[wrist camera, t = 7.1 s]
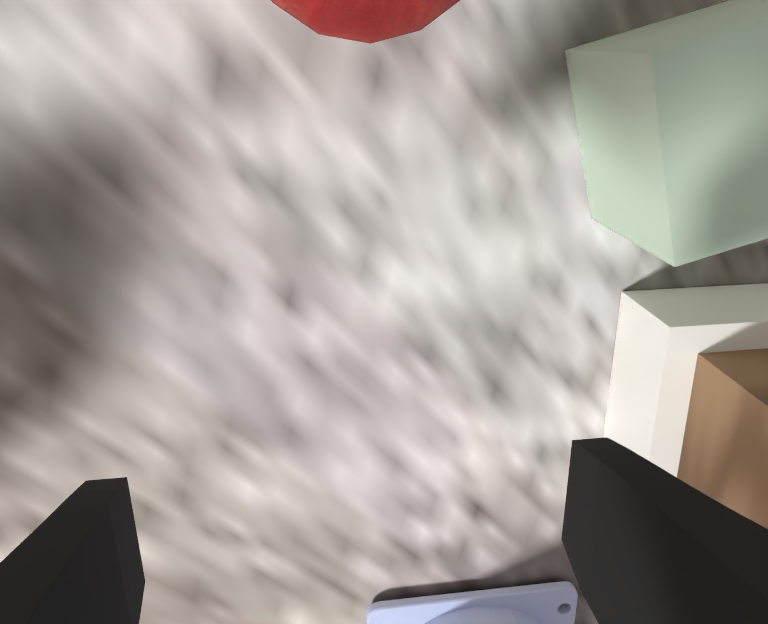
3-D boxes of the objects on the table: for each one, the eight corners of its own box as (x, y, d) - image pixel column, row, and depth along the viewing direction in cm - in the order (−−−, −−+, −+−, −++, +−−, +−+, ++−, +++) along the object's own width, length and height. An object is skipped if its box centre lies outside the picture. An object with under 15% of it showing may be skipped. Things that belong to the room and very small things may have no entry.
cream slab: (778, 458, 26) (838, 509, 23) (598, 475, 25) (637, 529, 22) (820, 280, 23) (894, 313, 20) (621, 291, 22) (669, 327, 19)
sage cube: (743, 170, 21) (870, 206, 17) (589, 217, 21) (674, 267, 17) (732, -1, 19) (872, -15, 15) (563, 50, 19) (651, 52, 15)
